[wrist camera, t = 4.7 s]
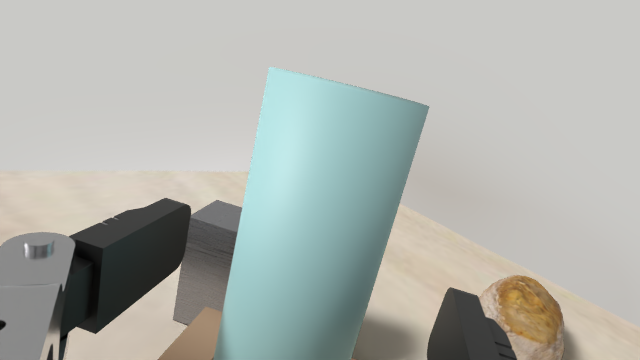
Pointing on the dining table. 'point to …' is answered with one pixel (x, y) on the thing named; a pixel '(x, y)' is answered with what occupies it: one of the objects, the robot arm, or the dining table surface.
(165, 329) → the dining table surface
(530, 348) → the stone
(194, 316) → the gray rectangular block
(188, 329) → the socket
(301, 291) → the dowel
